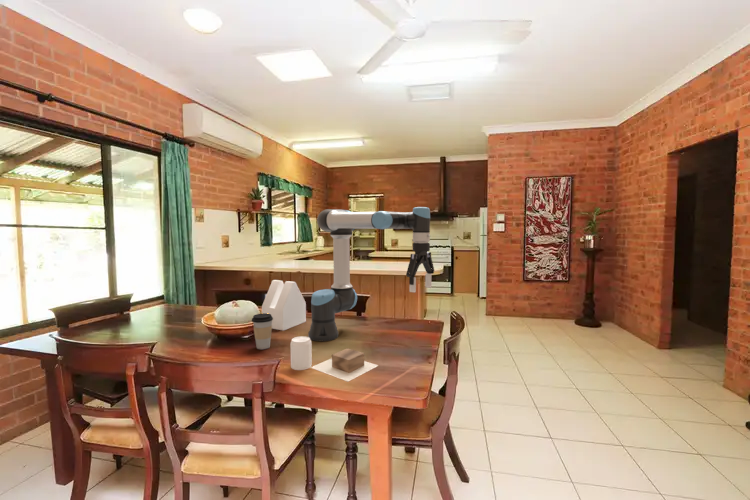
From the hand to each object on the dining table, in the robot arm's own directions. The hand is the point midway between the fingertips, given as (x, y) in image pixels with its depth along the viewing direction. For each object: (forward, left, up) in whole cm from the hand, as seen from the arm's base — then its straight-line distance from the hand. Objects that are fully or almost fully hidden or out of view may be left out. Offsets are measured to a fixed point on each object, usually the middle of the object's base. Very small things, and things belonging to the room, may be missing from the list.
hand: (420, 289), depth 156 cm
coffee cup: (-60, -41, -28) cm, 78 cm away
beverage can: (-27, -46, -28) cm, 60 cm away
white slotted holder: (-83, -11, -28) cm, 88 cm away
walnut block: (-12, -35, -27) cm, 46 cm away
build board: (-13, -36, -28) cm, 47 cm away
